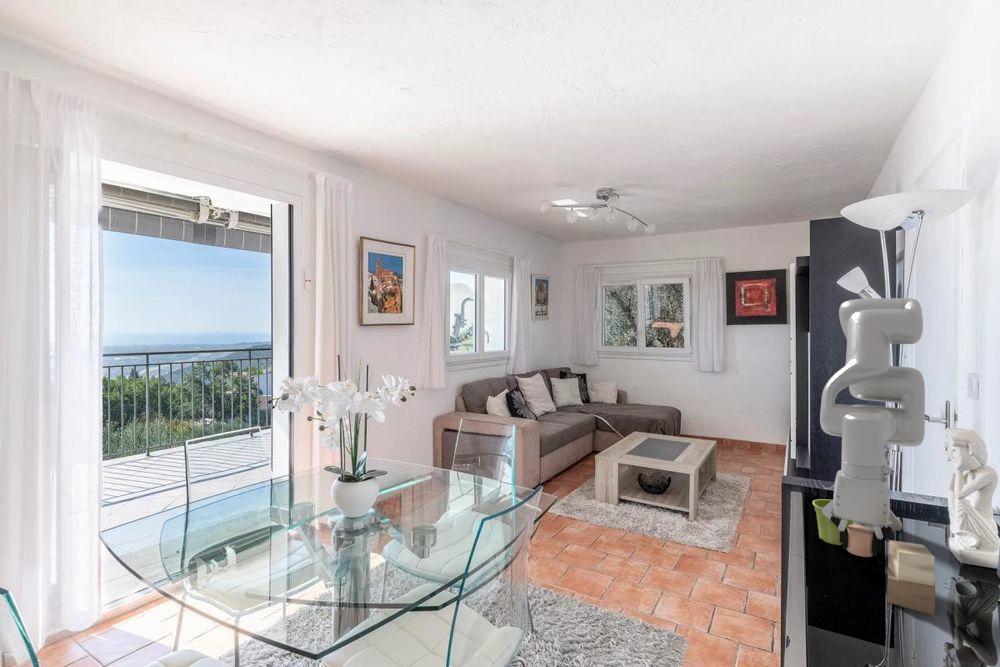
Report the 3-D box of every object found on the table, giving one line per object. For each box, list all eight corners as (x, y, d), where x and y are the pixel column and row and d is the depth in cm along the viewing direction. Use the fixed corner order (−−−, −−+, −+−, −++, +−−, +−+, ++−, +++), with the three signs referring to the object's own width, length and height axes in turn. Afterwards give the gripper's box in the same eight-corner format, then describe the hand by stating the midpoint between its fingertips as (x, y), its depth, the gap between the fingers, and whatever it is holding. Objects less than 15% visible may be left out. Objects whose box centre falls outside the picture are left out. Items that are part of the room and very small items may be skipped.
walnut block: (887, 587, 104) (888, 563, 104) (932, 599, 100) (933, 574, 99) (887, 603, 98) (887, 577, 98) (934, 616, 94) (935, 589, 94)
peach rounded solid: (846, 544, 116) (847, 522, 116) (872, 549, 113) (873, 528, 113) (846, 552, 112) (846, 531, 112) (873, 559, 109) (873, 536, 109)
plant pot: (814, 529, 132) (815, 496, 132) (858, 539, 126) (859, 504, 126) (808, 541, 125) (809, 506, 124) (855, 553, 119) (856, 516, 118)
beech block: (888, 566, 102) (889, 540, 102) (922, 572, 100) (923, 544, 100) (898, 580, 97) (898, 551, 97) (933, 585, 95) (934, 557, 95)
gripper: (910, 471, 109) (907, 553, 111) (817, 458, 119) (815, 533, 121) (913, 482, 103) (910, 568, 105) (815, 468, 113) (813, 547, 114)
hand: (859, 549), depth 113 cm, fingers closed on peach rounded solid, 4 cm apart
